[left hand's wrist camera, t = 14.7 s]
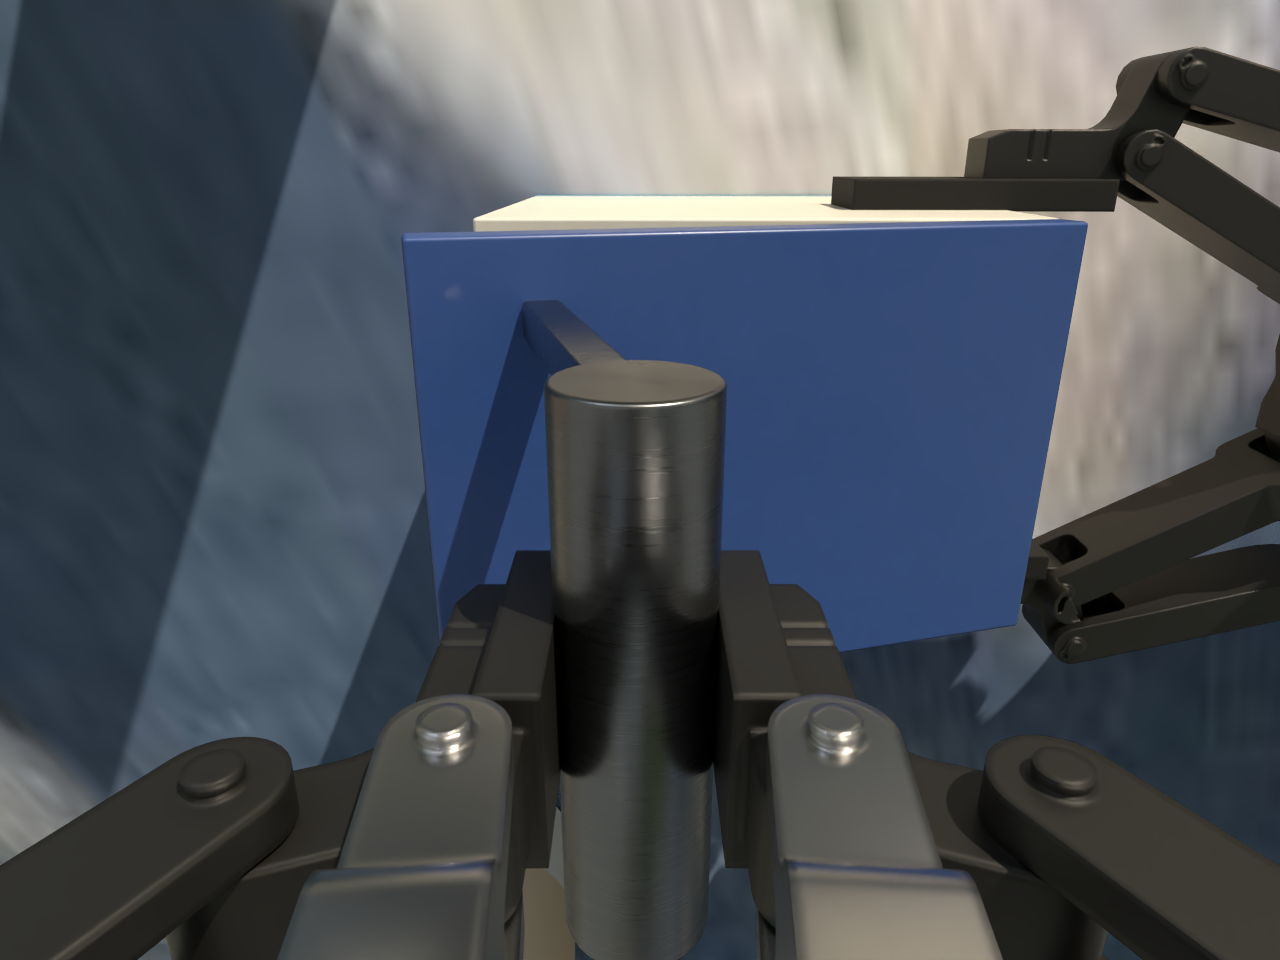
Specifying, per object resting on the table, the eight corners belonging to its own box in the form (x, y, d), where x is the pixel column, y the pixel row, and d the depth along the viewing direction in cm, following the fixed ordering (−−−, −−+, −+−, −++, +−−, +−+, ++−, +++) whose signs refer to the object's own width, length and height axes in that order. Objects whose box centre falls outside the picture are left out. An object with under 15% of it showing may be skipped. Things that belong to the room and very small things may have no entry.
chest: (546, 460, 32) (497, 603, 22) (535, 195, 29) (471, 217, 19) (887, 461, 32) (997, 607, 22) (916, 195, 29) (1063, 218, 19)
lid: (444, 689, 19) (481, 1069, 11) (400, 232, 15) (409, 314, 7) (993, 607, 22) (1319, 853, 14) (1057, 219, 19) (1533, 264, 11)
